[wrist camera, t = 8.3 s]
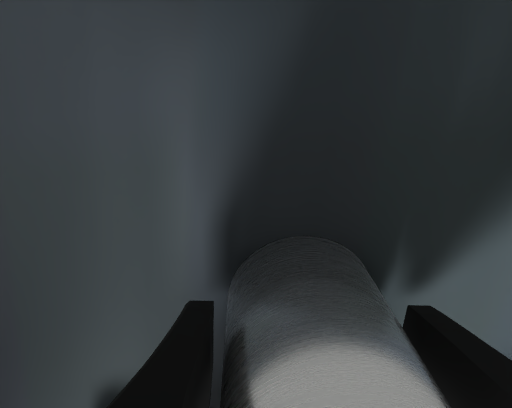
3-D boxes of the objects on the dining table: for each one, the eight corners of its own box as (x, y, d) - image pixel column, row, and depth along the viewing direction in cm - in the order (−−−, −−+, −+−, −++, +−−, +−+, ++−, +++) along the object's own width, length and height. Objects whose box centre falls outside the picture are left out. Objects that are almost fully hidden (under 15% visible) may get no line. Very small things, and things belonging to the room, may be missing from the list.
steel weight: (226, 356, 12) (210, 629, 6) (228, 234, 10) (210, 445, 4) (360, 358, 12) (467, 622, 6) (383, 237, 10) (554, 445, 5)
